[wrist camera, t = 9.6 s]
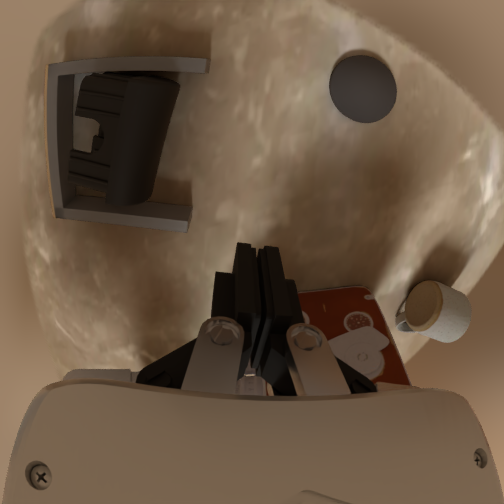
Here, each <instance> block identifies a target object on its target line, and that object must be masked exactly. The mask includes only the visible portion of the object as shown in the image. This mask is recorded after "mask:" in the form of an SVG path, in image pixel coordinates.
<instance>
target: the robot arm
mask: <svg viewBox="0 0 504 504" xmlns="http://www.w3.org/2000/svg"><path fill="white" fill-rule="evenodd" d="M249 359H250V366H251V368H254V369H255V372H256V377H261V378H263V379H264V380H265V381H266V382H267V391H268V395H269V396H260V395H239V394H235V388H236V382H237V381H238V380H239V379H241V378H242V377H243V376H244V374H245V370H246V368H247V366H248V363H249ZM2 504H504V498H503V493H502V489H501V484H500V480H499V476H498V473H497V469H496V466H495V463H494V460H493V456H492V453H491V450H490V447H489V444H488V442H487V439H486V436H485V434H484V431H483V429H482V426H481V424H480V422H479V420H478V418H477V416H476V414H475V412H474V410H473V408H472V407H471V405H470V404H469V402H468V401H467V400H466V399H465V398H464V397H463V396H461V395H459V394H457V393H455V392H452V391H448V390H443V389H435V388H419V387H416V386H408V385H399V384H391V383H384V382H376V384H373V382H372V381H371V380H370V379H368V378H367V377H366V376H364V375H363V374H361V373H360V372H358V371H357V370H355V369H354V368H352V367H351V366H349V365H348V364H346V363H345V362H343V361H342V360H340V359H339V358H338V357H336V356H335V355H334V354H333V352H332V350H331V347H330V345H329V343H328V341H327V339H326V337H325V335H324V334H323V332H322V331H321V330H320V329H318V328H317V327H315V326H313V325H310V324H307V323H305V322H304V318H303V314H302V309H301V305H300V301H299V297H298V293H297V289H296V284H295V281H294V280H288V279H285V276H284V272H283V267H282V262H281V257H280V253H279V248H278V247H272V246H264V249H259V251H258V255H257V257H256V248H251V244H247V243H239V242H238V243H237V247H236V253H235V259H234V265H233V271H232V273H224V272H216V273H215V281H214V290H213V299H212V310H211V318H210V319H207V320H206V321H205V322H204V323H203V324H202V326H201V327H200V331H199V334H198V337H197V338H196V339H194V340H192V341H190V342H189V343H187V344H185V345H183V346H182V347H180V348H178V349H177V350H175V351H173V352H171V353H169V354H168V355H166V356H164V357H162V358H161V359H159V360H157V361H155V362H153V363H152V364H150V365H148V366H146V367H145V368H143V369H142V370H141V371H140V372H131V370H130V369H75V370H72V371H70V372H68V373H67V374H66V375H65V376H64V378H63V381H59V382H55V383H52V384H49V385H47V386H46V387H44V388H42V389H41V390H40V391H39V392H38V393H37V394H36V396H35V397H34V399H33V400H32V402H31V403H30V405H29V407H28V409H27V411H26V413H25V416H24V418H23V420H22V423H21V425H20V428H19V431H18V434H17V437H16V441H15V444H14V447H13V451H12V454H11V458H10V463H9V467H8V472H7V477H6V482H5V488H4V494H3V501H2Z"/></svg>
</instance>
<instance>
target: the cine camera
mask: <svg viewBox="0 0 504 504" xmlns="http://www.w3.org/2000/svg"><path fill="white" fill-rule="evenodd" d="M297 293H298V297H299V301H300V305H301V309H302V314H303V318H304V322H305V323H307V324H310V325H313V326H315V327H317V328H318V329H320V330H321V331H322V332H323V334H324V335H325V337H326V339H327V341H328V343H329V345H330V347H331V350H332V352H333V354H334V355H335V356H336V357H338V358H339V359H340V360H342V361H343V362H345V363H346V364H348V365H349V366H351V367H352V368H354V369H355V370H357V371H358V372H360V373H361V374H363V375H364V376H366V377H367V378H368V379H370V380H371V381H372V382H373V384H376V382H384V383H391V384H399V385H408V386H412V385H411V382H410V379H409V377H408V374H407V371H406V369H405V366H404V364H403V361H402V359H401V356H400V354H399V351H398V349H397V346H396V344H395V341H394V339H393V337H392V334H391V332H390V330H389V327H388V325H387V323H386V320H385V318H384V316H383V314H382V312H381V309H380V307H379V305H378V303H377V301H376V299H375V298H374V296H373V294H372V293H371V291H370V290H369V289H368V288H366V287H363V286H350V287H341V288H333V289H324V290H315V291H306V292H297ZM247 374H254V375H255V376H246V375H247ZM235 394H239V395H260V396H269V395H268V391H267V382H266V381H265V380H264V379H263V378H261V377H256V372H255V369H254V368H251V366H250V359H249V363H248V366H247V368H246V370H245V375H244V376H243V377H242V378H241V379H240V380H238V381H237V382H236V388H235Z"/></svg>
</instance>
